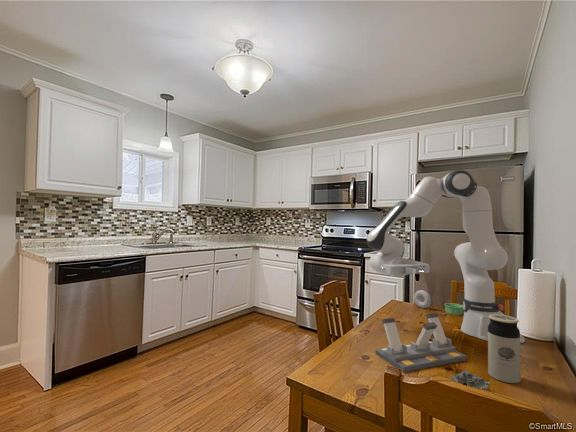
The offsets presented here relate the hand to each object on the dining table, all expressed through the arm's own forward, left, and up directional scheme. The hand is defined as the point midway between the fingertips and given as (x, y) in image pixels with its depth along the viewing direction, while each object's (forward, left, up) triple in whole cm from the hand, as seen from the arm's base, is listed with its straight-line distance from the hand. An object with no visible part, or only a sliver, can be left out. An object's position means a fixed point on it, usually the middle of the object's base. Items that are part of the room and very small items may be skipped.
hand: (420, 271), depth 118 cm
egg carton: (-10, +33, -28) cm, 45 cm away
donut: (-5, -57, -28) cm, 64 cm away
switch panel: (+1, +14, -28) cm, 31 cm away
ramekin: (-20, -52, -28) cm, 62 cm away
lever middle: (+1, +14, -24) cm, 28 cm away
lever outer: (+9, +21, -24) cm, 33 cm away
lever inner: (-7, +8, -24) cm, 26 cm away
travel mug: (-22, +20, -28) cm, 41 cm away
